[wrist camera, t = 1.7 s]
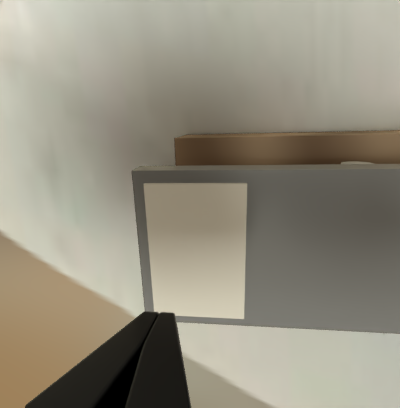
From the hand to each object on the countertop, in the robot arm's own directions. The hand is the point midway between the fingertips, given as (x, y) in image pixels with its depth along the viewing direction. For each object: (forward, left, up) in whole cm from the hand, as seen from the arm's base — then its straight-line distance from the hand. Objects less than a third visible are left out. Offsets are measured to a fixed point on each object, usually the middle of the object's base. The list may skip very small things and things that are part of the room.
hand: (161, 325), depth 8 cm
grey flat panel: (-7, 0, -6) cm, 9 cm away
